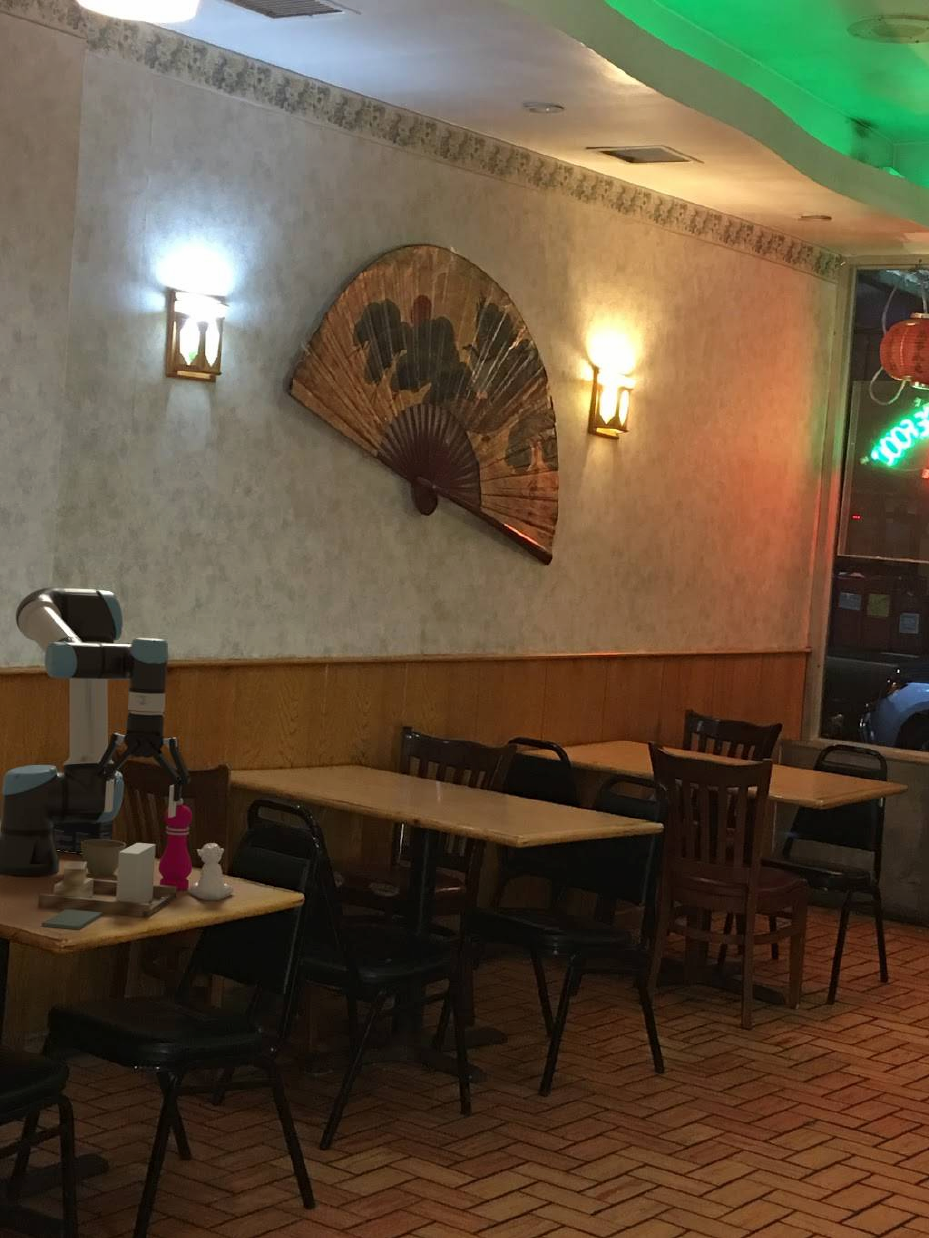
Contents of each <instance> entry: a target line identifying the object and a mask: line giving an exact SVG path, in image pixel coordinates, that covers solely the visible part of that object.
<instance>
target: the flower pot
mask: <svg viewBox="0 0 929 1238" xmlns="http://www.w3.org/2000/svg"><path fill="white" fill-rule="evenodd" d="M126 848H127V844H126V843H125V842H123V841H121V840H114V839H112V840H105V839H92V840H85V841H82V842H81V850H82V854H81V857H82V858H83V862H87V868H86V870H87V872H88V873H89V874H90V875H91V876H94V877H100V876H101V878H102V876H103V877H104V876H106V877H111V875H112V876H113V875H114V874H115V873H116V870H118V859H119V852H120V851H122V850H124V849H126ZM104 878H105V877H104Z"/></svg>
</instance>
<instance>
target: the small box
mask: <svg viewBox="0 0 929 1238" xmlns="http://www.w3.org/2000/svg"><path fill="white" fill-rule="evenodd" d="M113 830H114V819H113V820H111V821H109V822H97V823H54V827H53V839H54V842H55V846H56V850H60V851H68V852H76V853H82V850H81V842H82V841H85V840H92V839H105V840H113V833H114V831H113Z"/></svg>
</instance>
